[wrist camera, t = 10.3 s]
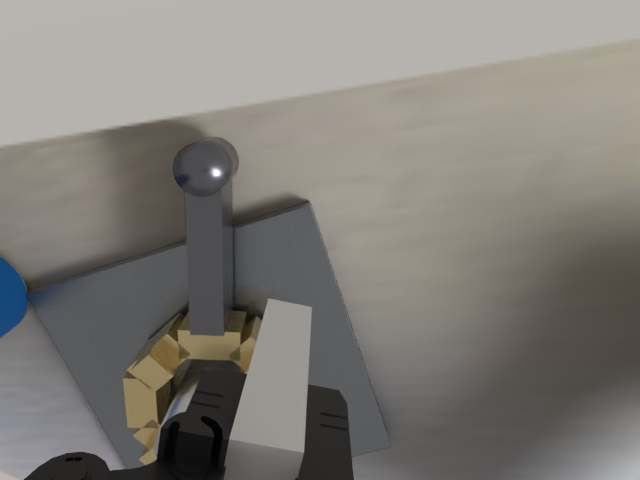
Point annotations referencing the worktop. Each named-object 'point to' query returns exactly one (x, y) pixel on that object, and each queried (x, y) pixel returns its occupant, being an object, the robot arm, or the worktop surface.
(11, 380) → the worktop surface
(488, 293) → the worktop surface
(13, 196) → the worktop surface
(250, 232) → the base plate
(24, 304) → the beverage can
